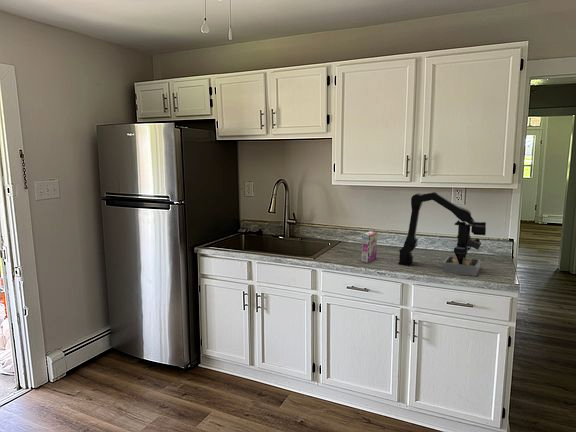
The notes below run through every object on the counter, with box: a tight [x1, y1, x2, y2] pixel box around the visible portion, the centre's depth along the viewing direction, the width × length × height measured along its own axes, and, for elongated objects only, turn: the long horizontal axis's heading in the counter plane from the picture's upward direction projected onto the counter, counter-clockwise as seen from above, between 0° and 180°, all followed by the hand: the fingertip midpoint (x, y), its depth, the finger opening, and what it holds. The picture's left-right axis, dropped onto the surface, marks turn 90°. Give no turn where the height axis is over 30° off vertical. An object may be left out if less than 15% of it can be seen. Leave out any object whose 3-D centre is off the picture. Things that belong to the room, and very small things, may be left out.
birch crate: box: [452, 256, 473, 266], centre depth 215 cm, size 9×6×5 cm
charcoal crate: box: [442, 255, 481, 277], centre depth 215 cm, size 16×16×5 cm
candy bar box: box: [360, 230, 378, 264], centre depth 234 cm, size 11×5×16 cm, turn 145°
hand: (462, 262), depth 215 cm, fingers open, 9 cm apart
